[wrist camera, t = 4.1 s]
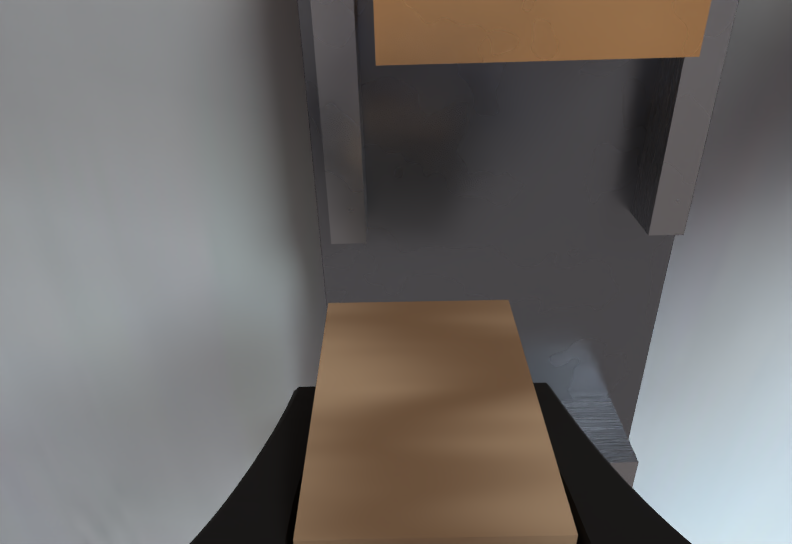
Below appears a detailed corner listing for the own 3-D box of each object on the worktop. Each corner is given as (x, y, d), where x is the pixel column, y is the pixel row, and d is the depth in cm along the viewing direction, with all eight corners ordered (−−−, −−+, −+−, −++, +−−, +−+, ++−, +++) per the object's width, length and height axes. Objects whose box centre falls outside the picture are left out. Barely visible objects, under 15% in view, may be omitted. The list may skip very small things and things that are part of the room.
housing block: (508, 299, 14) (578, 534, 9) (496, 430, 16) (546, 683, 11) (328, 302, 14) (293, 540, 9) (339, 433, 16) (315, 688, 11)
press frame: (720, -94, 16) (824, -90, 13) (614, 419, 26) (655, 512, 22) (297, -82, 16) (269, -75, 13) (343, 426, 26) (335, 520, 22)
